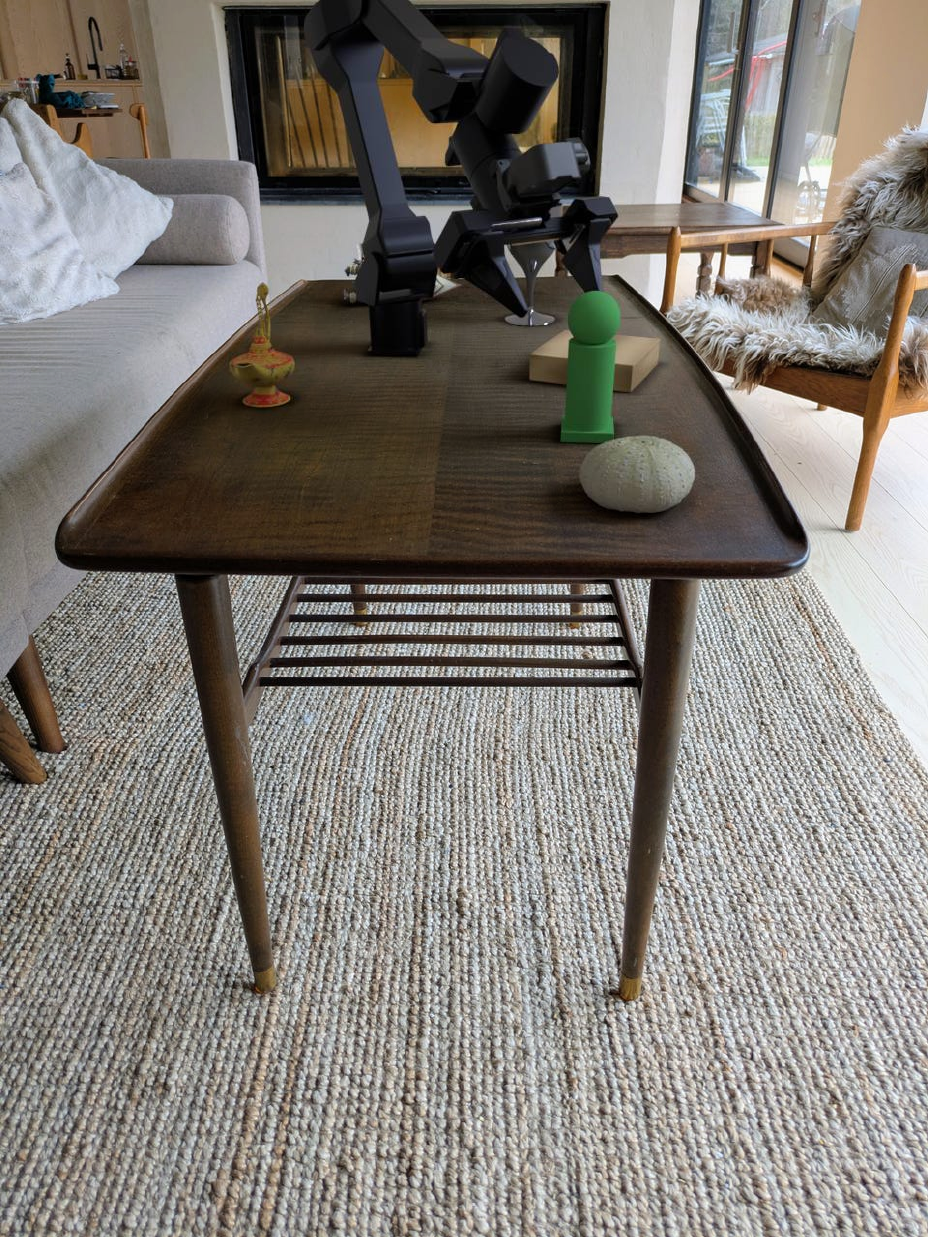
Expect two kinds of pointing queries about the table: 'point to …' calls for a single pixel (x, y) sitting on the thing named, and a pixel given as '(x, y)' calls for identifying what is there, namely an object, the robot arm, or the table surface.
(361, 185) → the robot arm
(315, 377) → the table surface
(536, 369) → the wooden block
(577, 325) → the green toy
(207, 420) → the table surface
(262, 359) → the magic lamp
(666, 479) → the sea urchin shell
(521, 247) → the wine glass
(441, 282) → the figurine
